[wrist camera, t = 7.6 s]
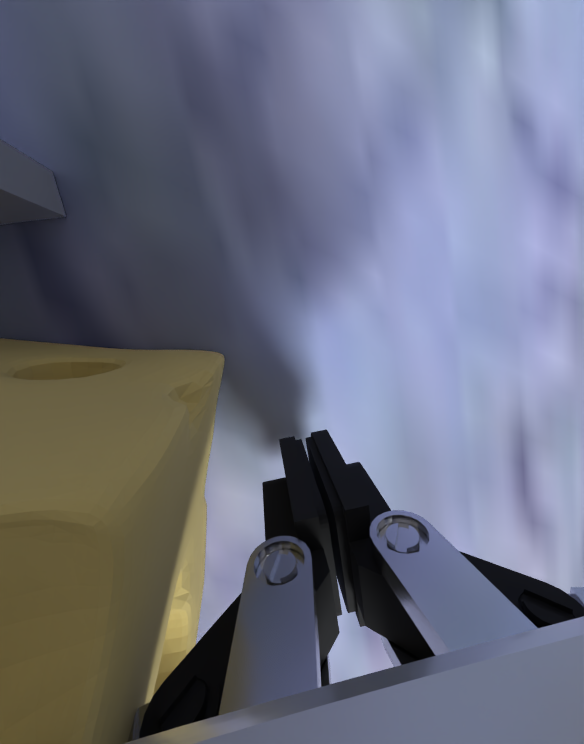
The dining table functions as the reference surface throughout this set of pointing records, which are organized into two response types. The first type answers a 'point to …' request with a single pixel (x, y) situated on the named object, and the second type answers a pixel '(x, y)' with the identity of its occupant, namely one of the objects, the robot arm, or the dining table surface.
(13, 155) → the bin
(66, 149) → the dining table surface
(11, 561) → the cheese
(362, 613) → the robot arm
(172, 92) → the dining table surface
